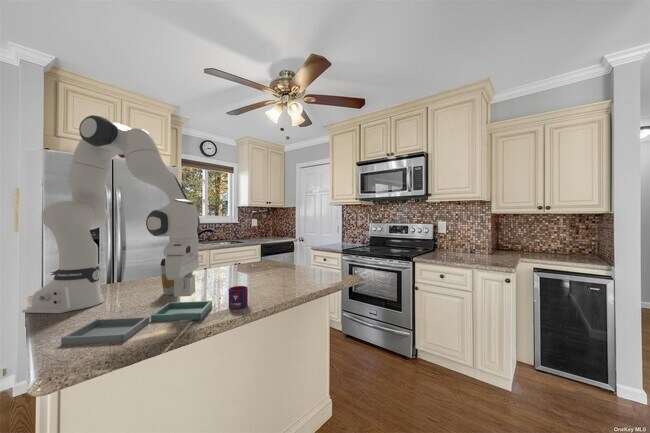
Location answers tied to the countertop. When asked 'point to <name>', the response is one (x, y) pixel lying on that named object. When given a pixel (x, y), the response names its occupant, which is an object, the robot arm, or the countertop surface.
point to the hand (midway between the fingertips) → (184, 287)
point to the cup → (238, 297)
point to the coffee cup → (166, 281)
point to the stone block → (189, 286)
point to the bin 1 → (106, 331)
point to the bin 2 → (182, 311)
